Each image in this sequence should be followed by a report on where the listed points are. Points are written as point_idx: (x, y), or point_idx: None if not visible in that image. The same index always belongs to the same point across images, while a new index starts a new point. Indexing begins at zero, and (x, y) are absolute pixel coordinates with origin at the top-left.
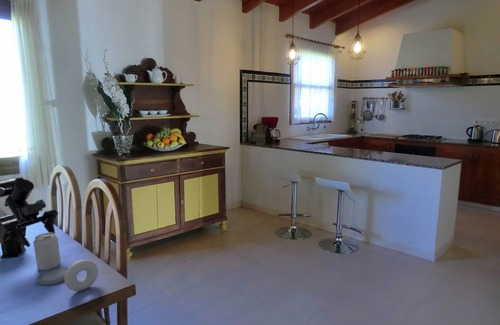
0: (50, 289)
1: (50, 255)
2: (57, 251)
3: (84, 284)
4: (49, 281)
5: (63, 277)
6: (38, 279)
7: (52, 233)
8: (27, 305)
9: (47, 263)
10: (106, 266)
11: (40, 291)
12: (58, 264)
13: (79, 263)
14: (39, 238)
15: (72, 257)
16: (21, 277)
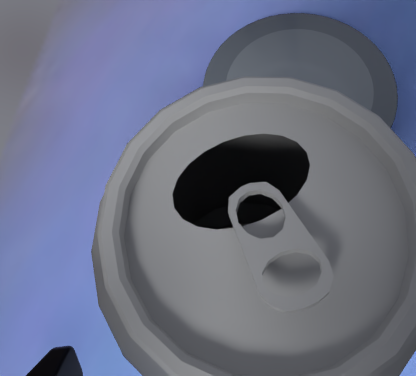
0: (363, 7)
1: (267, 164)
2: (191, 178)
3: None
4: (351, 41)
5: (277, 25)
6: (390, 111)
7: (118, 238)
8: None
9: (291, 197)
10: (59, 3)
11: (408, 25)
12: (209, 212)
13: None
14: (354, 254)
15: (71, 283)
16: None
